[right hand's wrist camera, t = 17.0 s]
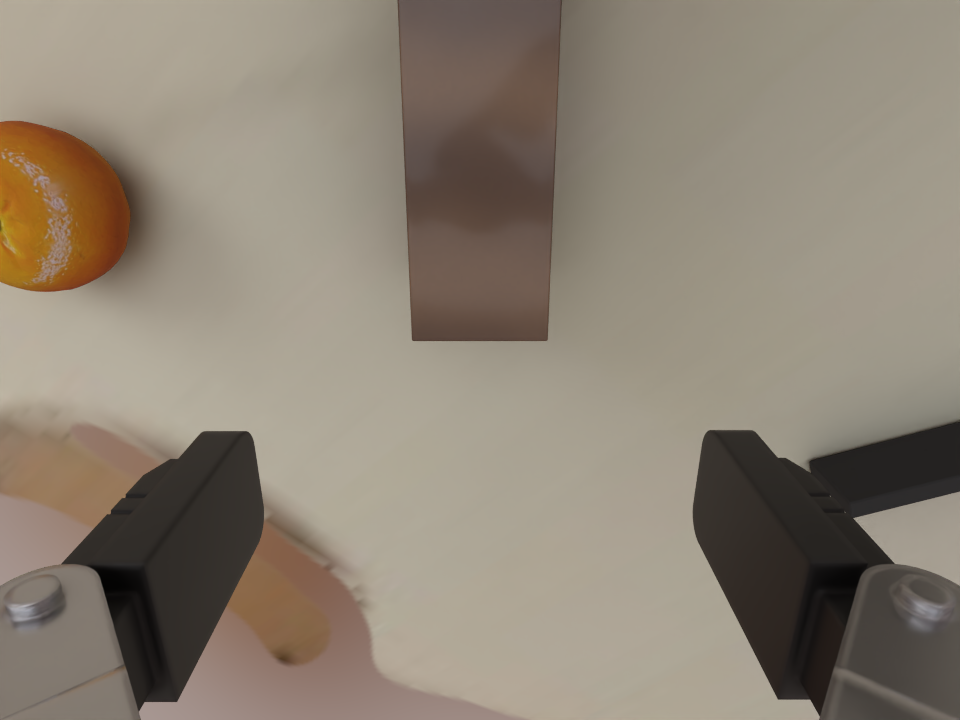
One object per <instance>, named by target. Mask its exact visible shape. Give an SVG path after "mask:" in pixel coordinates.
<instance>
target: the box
mask: <svg viewBox="0 0 960 720" xmlns="http://www.w3.org/2000/svg"><path fill="white" fill-rule="evenodd" d="M561 5H562V0H398V19H399V43H400V66H401V90H402V114H403V137H404V161H405V184H406V208H407V232H408V255H409V279H410V302H411V326H412V340H413V341H547V340H548V316H549V292H550V268H551V244H552V220H553V196H554V172H555V148H556V124H557V100H558V76H559V53H560V29H561Z"/></svg>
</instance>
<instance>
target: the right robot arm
mask: <svg viewBox="0 0 960 720" xmlns="http://www.w3.org/2000/svg"><path fill="white" fill-rule="evenodd" d="M263 523H264V506H263V499H262V492H261V486H260V479H259V472H258V466H257V459H256V452H255V446H254V441H253V438H252V436H251V434H250V433H249V432H247V431H204V432H202V433H201V434H200V435H199V436H198V437H197V438H196V439H195V440H194V441H193V443H192V444H191V445H190V446H189V447H188V448H187V449H186V451H185V452H184V453H183V454H182V455H181V456H180V458H179V459H170V460H168V461H167V462H165V463H163V464H162V465H160V466H158V467H156V468H155V469H153V470H151V471H150V472H148V473H146V474H145V475H143V476H142V477H141V478H140V480H139V481H138V482H137V483H136V484H135V485H134V486H133V487H132V488H131V489H130V490H129V491H128V493H127V494H126V498H122V499H121V500H120V501H119V502H118V503H117V504H116V505H115V507H114V508H113V509H112V510H111V514H107V515H106V516H105V517H104V518H103V520H102V521H101V522H100V523H99V524H98V525H97V526H96V527H95V528H94V529H93V530H92V531H91V532H90V534H89V535H88V536H87V537H86V538H85V539H84V540H83V541H82V542H81V543H80V544H79V545H78V546H77V548H76V549H75V550H74V551H73V552H72V553H71V554H70V555H69V556H68V557H67V558H66V559H65V561H64V562H63V563H62V564H61V565H54V566H49V567H44V568H41V569H37V570H34V571H31V572H28V573H26V574H23V575H20V576H18V577H16V578H14V579H12V580H10V581H8V582H6V583H5V584H3V585H1V586H0V720H141V719H140V715H139V711H140V709H141V707H142V705H143V704H144V702H177V701H178V699H179V697H180V695H181V693H182V691H183V689H184V687H185V685H186V683H187V681H188V680H189V677H190V676H191V674H192V672H193V670H194V668H195V666H196V664H197V662H198V660H199V658H200V656H201V654H202V652H203V650H204V648H205V646H206V644H207V642H208V641H209V639H210V637H211V635H212V633H213V631H214V629H215V627H216V625H217V623H218V621H219V619H220V617H221V615H222V613H223V611H224V609H225V607H226V606H227V604H228V602H229V600H230V598H231V596H232V594H233V592H234V590H235V588H236V586H237V584H238V582H239V580H240V578H241V576H242V574H243V572H244V571H245V569H246V567H247V565H248V563H249V561H250V559H251V557H252V555H253V553H254V551H255V549H256V547H257V545H258V543H259V541H260V538H261V534H262V530H263ZM693 524H694V530H695V534H696V537H697V540H698V543H699V545H700V547H701V549H702V551H703V552H704V554H705V556H706V558H707V560H708V562H709V564H710V566H711V568H712V570H713V572H714V574H715V576H716V578H717V580H718V582H719V584H720V586H721V588H722V590H723V592H724V594H725V596H726V598H727V600H728V602H729V604H730V606H731V608H732V610H733V612H734V614H735V616H736V618H737V619H738V621H739V623H740V625H741V627H742V629H743V631H744V633H745V635H746V637H747V639H748V641H749V643H750V645H751V647H752V649H753V651H754V653H755V655H756V657H757V659H758V661H759V663H760V665H761V667H762V669H763V671H764V673H765V675H766V677H767V679H768V681H769V683H770V685H771V686H772V688H773V690H774V692H775V694H776V696H777V698H778V699H810V700H811V702H812V703H813V705H814V707H815V709H816V710H817V712H818V714H819V716H820V719H819V720H960V586H959V585H957V584H955V583H954V582H952V581H950V580H948V579H946V578H944V577H942V576H940V575H937V574H934V573H932V572H929V571H926V570H923V569H920V568H916V567H911V566H907V565H899V564H894V562H893V561H892V560H891V559H890V558H889V557H888V556H887V555H886V554H885V553H884V552H883V550H882V549H881V548H880V547H879V546H878V545H877V544H876V543H875V542H874V541H873V540H872V538H871V537H870V536H869V535H868V534H867V533H866V532H865V531H864V530H863V529H862V528H861V526H860V525H859V524H858V523H857V522H856V521H855V520H854V519H853V518H852V517H851V516H850V514H849V513H845V512H844V508H843V507H842V506H841V505H840V504H839V503H838V501H837V500H836V499H835V498H834V497H830V493H829V492H828V491H827V489H826V488H825V487H824V486H823V485H822V484H821V483H820V482H819V481H818V480H817V479H816V477H815V476H814V475H813V474H811V473H810V472H808V471H806V470H805V469H803V468H801V467H800V466H798V465H796V464H795V463H793V462H791V461H790V460H788V459H786V458H777V456H776V455H775V454H774V453H773V452H772V451H771V450H770V448H769V447H768V446H767V445H766V444H765V443H764V441H763V440H762V439H761V438H760V437H759V436H758V434H757V433H756V432H754V431H752V430H709V431H708V432H707V433H706V434H705V436H704V439H703V443H702V449H701V455H700V462H699V469H698V476H697V482H696V489H695V496H694V503H693Z"/></svg>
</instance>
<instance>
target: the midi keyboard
mask: <svg viewBox="0 0 960 720" xmlns="http://www.w3.org/2000/svg"><path fill="white" fill-rule="evenodd" d="M810 469H811V474H813V475H814V476H815V477H816V479H817V480H818V481H819V482H820V483H821V484H822V485H823V486H824V487H825V488H826V489H827V491H828V492H829V493H830V496H831V497H834V498H835V499H836V500H837V501H838V503H839V504H840V505H841V506H842V507H843V508H844V511H845V512H846V513H849V514H850V516H851V517H852V518H855V517H859V516H863V515H867V514H871V513H875V512H879V511H883V510H887V509H891V508H895V507H899V506H903V505H907V504H911V503H915V502H919V501H923V500H927V499H931V498H935V497H939V496H943V495H947V494H951V493H955V492H959V491H960V422H958V423H954V424H950V425H946V426H942V427H939V428H935V429H931V430H927V431H923V432H919V433H916V434H912V435H908V436H904V437H900V438H896V439H893V440H889V441H885V442H881V443H877V444H873V445H870V446H866V447H862V448H858V449H854V450H850V451H847V452H843V453H839V454H835V455H831V456H828V457H824V458H820V459H816V460H812V461H810Z"/></svg>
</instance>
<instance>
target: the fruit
mask: <svg viewBox="0 0 960 720" xmlns="http://www.w3.org/2000/svg"><path fill="white" fill-rule="evenodd" d="M130 216H131V215H130V209H129V205H128V202H127V199H126V196H125V193H124V190H123V188H122V185H121V182H120V180H119V178H118V176H117V175H116V173H115V172H114V170H113V169H112V168H111V166H110V165H109V164H108V162H107V161H106V160H105V159H104V158H103V157H102V156H101V155H100V154H99V153H98V152H97V151H96V150H94V149H93V148H92V147H90V146H89V145H88V144H86V143H85V142H83V141H81V140H80V139H77V138H76V137H74V136H72V135H70V134H68V133H66V132H62V131H59V130H56V129H52V128H49V127H45V126H42V125H38V124H33V123H28V122H23V121H5V122H0V282H2V283H5V284H7V285H10V286H13V287H17V288H21V289H25V290H30V291H40V292H51V291H61V290H70V289H74V288H77V287H80V286H82V285H85V284H87V283H89V282H91V281H93V280H95V279H97V278H99V277H100V276H102V275H103V274H105V273H106V272H107V271H109V270H110V269H111V268H112V267H113V266H114V265H115V264H116V263H117V262H118V260H119V259H120V257H121V255H122V254H123V252H124V250H125V248H126V245H127V240H128V236H129V224H130Z"/></svg>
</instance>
